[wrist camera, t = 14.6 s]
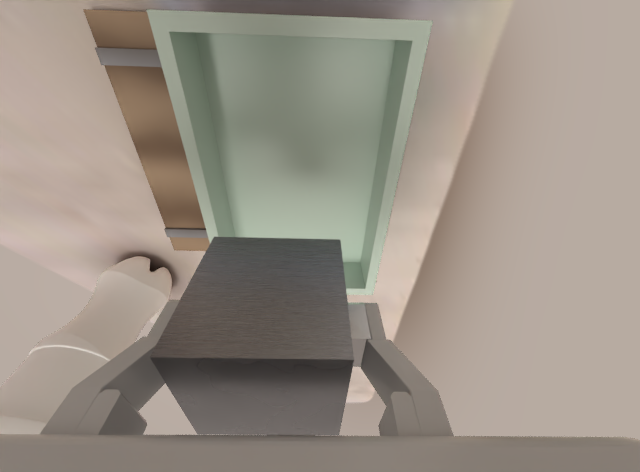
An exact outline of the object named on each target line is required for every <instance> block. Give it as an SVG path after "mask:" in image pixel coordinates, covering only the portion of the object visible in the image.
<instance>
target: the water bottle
mask: <svg viewBox="0 0 640 472" xmlns="http://www.w3.org/2000/svg"><path fill="white" fill-rule="evenodd" d="M149 269H150V259H148V258H146V257H141V256H136V257H132V258H129V259H126V260H124V261H121V262H120V263H117V264H115V265H113V266H111V267H109V268H107V269H106V270H105V271H104V272H103V273H102V274H101V275H100V276H99V278H98V280H97V284H96V287H95V290H94V292H93V295H92V297H91V299H90V300H89V302H88V304H87V305H86V307H85V308H84V309H83V310H82V311H81V313H80V314H79V315H78V316H77V317H75V318H74V319H73V320H72V321H70V322H69V323H68V324H67V325H65V326H64V327H62V328H60V329H59V330H57V331H56V332H54V333H52V334H50V335H48V336H47V337H45V338H44V339H42V340H41V341H40V342H38V344H37V345H36V346H35V347H34V348H33V349H32V350H31V351H30V353H29V355H28V357H27V358H26V359H25V360H24V361H23V363H22V364H21V365H20V366H19V367H18V368H17V369H16V370H15V371H14V372H13V374H12V375H11V376H10V377H9V378H8V379H7V380H6V381H5V383H3V385H2V386H1V387H0V434H40V433H41V431H42V430H43V428H44V427H45V426H46V424H47V423H48V421H49V420H50V419H51V417H52V416H53V414H54V413H55V412H56V410H57V409H58V407H59V406H60V405H61V403H62V402H63V400H64V399H65V398H66V396H67V395H68V393H69V392H70V391H71V389H72V388H73V387H74V386H76V385H77V384H78V383H80V382H81V381H82V380H84V379H85V378H87V377H88V376H89V375H91V374H92V373H94V372H95V371H96V370H98V369H99V368H100V367H102V366H103V365H105V364H106V363H107V362H109V361H110V360H111V359H113V358H114V357H116V356H117V355H118V354H120V353H121V352H123V351H124V350H125V349H127V348H128V347H129V346H131V345H132V344H134V343H135V341H136V339H137V337H138V335H139V333H140V332H141V330H142V329H143V327H144V326H145V325H146V323H147V322H148V321H149V320H150V319H151V317H152V316H154V315H155V314H156V313H157V312H159V311H160V310H162V309H163V308H164V307H165V305H166V303H167V302H168V300H169V296H170V292H171V288H172V278H171V274H170V272H169V271H168V269H166V268H164V267H162V268H159V269H157V270H156V271H154V272H150V271H149Z"/></svg>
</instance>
